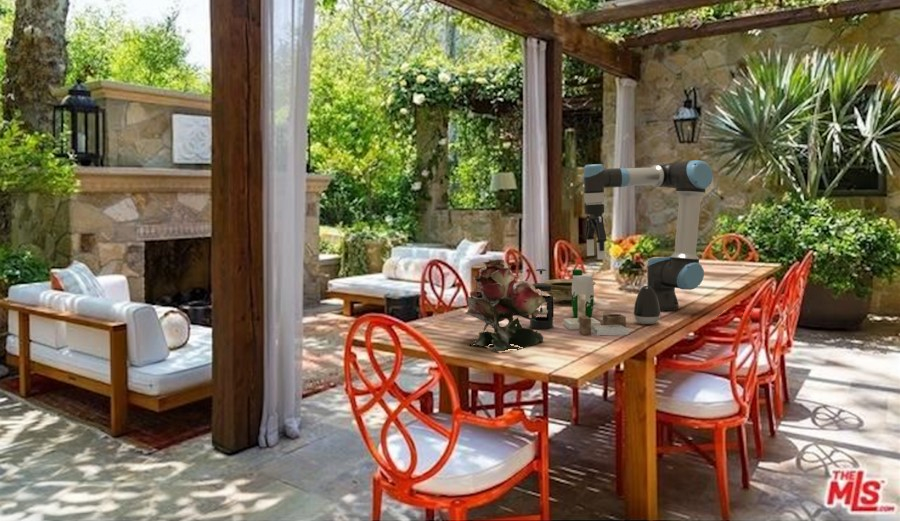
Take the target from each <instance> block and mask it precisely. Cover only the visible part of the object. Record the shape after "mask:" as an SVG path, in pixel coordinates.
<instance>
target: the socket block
mask: <svg viewBox="0 0 900 521" xmlns="http://www.w3.org/2000/svg"><path fill="white" fill-rule="evenodd" d="M626 321H627V318H626V316H625V315H623V314H621V313H608V314H606V313H603V314H602V325H622V326H624V327H626V328H627V322H626Z"/></svg>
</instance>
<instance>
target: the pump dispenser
mask: <svg viewBox="0 0 900 521" xmlns="http://www.w3.org/2000/svg"><path fill="white" fill-rule="evenodd" d="M633 316H634V320H636V322H637V323H638V324H640V323H641V324H640V325H644V324H652V325H654V324H656V323H657V322H658V321H659V319H660V317H661V311H660V306H659V302H658V298H657V295H656V293H655V291H654V289H653V288H652V287H651V286H647V285H644V286H642V287H641V288H639V291H638V292H637V294H636V299H635V302H634V307H633Z"/></svg>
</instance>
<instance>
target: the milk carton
mask: <svg viewBox="0 0 900 521" xmlns="http://www.w3.org/2000/svg"><path fill="white" fill-rule="evenodd" d="M571 279H572V304H571V307H572V308H571V309H572V314H573V315H572V316H573V319H574V318H578V295H585V316H588V317H589V318H593V316H592V315H593V312H594V303H595V302H594V301H595V299H594V298H595V297H594V296H595V295H594V293H595V292H594V291H595V290H594V286H595V285H593V281H594V280H593V273H583V269H572V275H571Z"/></svg>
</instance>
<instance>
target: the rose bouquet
mask: <svg viewBox="0 0 900 521" xmlns="http://www.w3.org/2000/svg"><path fill="white" fill-rule="evenodd" d="M482 263H483V265H482V266H483V267H482V268H480V269H478V273H479V274H480V275H474V277H473V283H475V289H474V290H473V291H471V292H470V295H469V296H470V297H469V296H468V297H467V299H466V300H467V303H468V304H467V305H468V309H467V311H466V312H465V315H468V316H471V317H473V318H476V319H477V320H479V321H483V322H484V323H485V324H484V327H483V331H481V332H478V336H479V337H478V339H476V340H477V341H476V342H471V345H473V344H475V346H478V345H479V347H482V346H488V345H489V344H494V345H493V347H491V346H490V348H486V349H488V350H490V351H493V352H496V351H505V350H508V349H517V351H520V350H519V349H518V348H519V347H514V346H511V345H510V344H514V345H518V346H520V347H523V349H526V347H528V346H533V345H537V344H539V343H540V342H544V336H543V335H542V333H541V332H538V330H535V331H534V329H532V328H530V327H523V326H522V324H521V323H520V320H519V318H518V317H522V318H523V319H525V320H526V319H527V320H529V321H530V320H531V321H532V320H534V319H531V318H532V317H530V316H532V315H534V316H536V317H538V315H540V314H539V310H536V309H540V308H541V304H542V305H543V304H546V302H545V299H544V298H543V296H540V295H541V294H540V290H539V291H538V290H537V289H535V286H534V285H533V284H534V283H532V282H529V281H527V280H519V281H517V282H516V279H517V275H516V274H513V272H512V270H511V266H510V265H508V263H507V262H506V261H505V260H504V259H502V258H497V259H490V258H489V259H488V260H487V261H485V262H482ZM514 316H516V318H515V319H514ZM505 319H506V320H507V321H508V323H507V324H506V325H505V326H500V322H502V321H504V320H505ZM535 321H536V320H535ZM489 325H490V326H491V327H492V329H493V332H491V331H489V330H486V329H487V328H488V326H489Z"/></svg>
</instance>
